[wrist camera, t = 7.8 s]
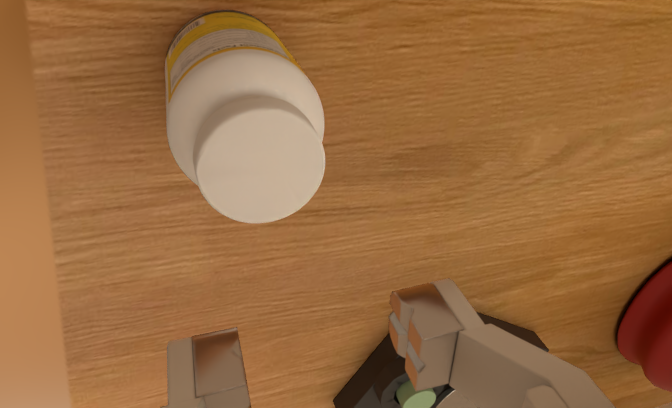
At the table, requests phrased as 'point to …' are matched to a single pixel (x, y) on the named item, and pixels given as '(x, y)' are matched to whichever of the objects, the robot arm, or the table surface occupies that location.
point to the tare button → (415, 396)
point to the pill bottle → (243, 117)
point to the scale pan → (452, 400)
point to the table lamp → (650, 329)
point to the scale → (401, 372)
